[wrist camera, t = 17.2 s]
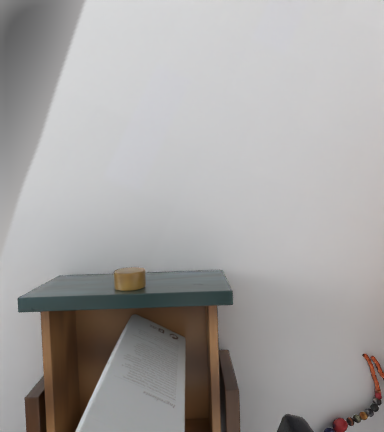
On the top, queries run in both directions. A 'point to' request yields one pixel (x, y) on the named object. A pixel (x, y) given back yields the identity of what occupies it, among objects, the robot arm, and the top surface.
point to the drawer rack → (228, 400)
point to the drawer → (113, 327)
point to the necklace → (341, 424)
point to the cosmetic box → (140, 383)
